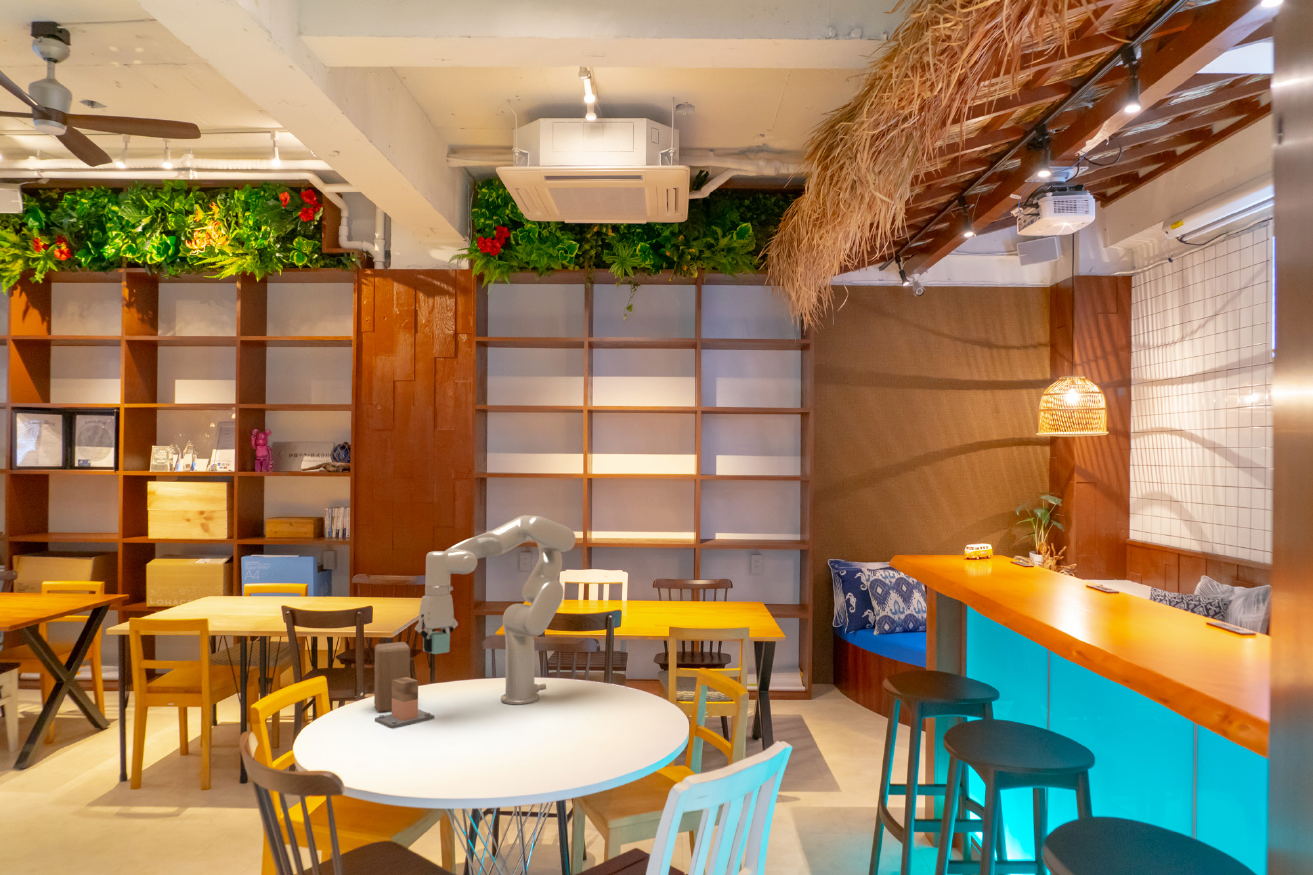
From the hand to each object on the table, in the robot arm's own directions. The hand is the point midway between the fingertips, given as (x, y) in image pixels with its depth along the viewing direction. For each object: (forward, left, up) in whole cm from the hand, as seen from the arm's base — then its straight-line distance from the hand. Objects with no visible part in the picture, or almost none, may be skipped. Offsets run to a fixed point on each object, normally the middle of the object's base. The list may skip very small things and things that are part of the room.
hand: (436, 649), depth 257 cm
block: (+4, -21, -21) cm, 30 cm away
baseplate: (+8, -5, -21) cm, 23 cm away
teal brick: (0, 0, -1) cm, 1 cm away
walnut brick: (+8, -5, -14) cm, 17 cm away
